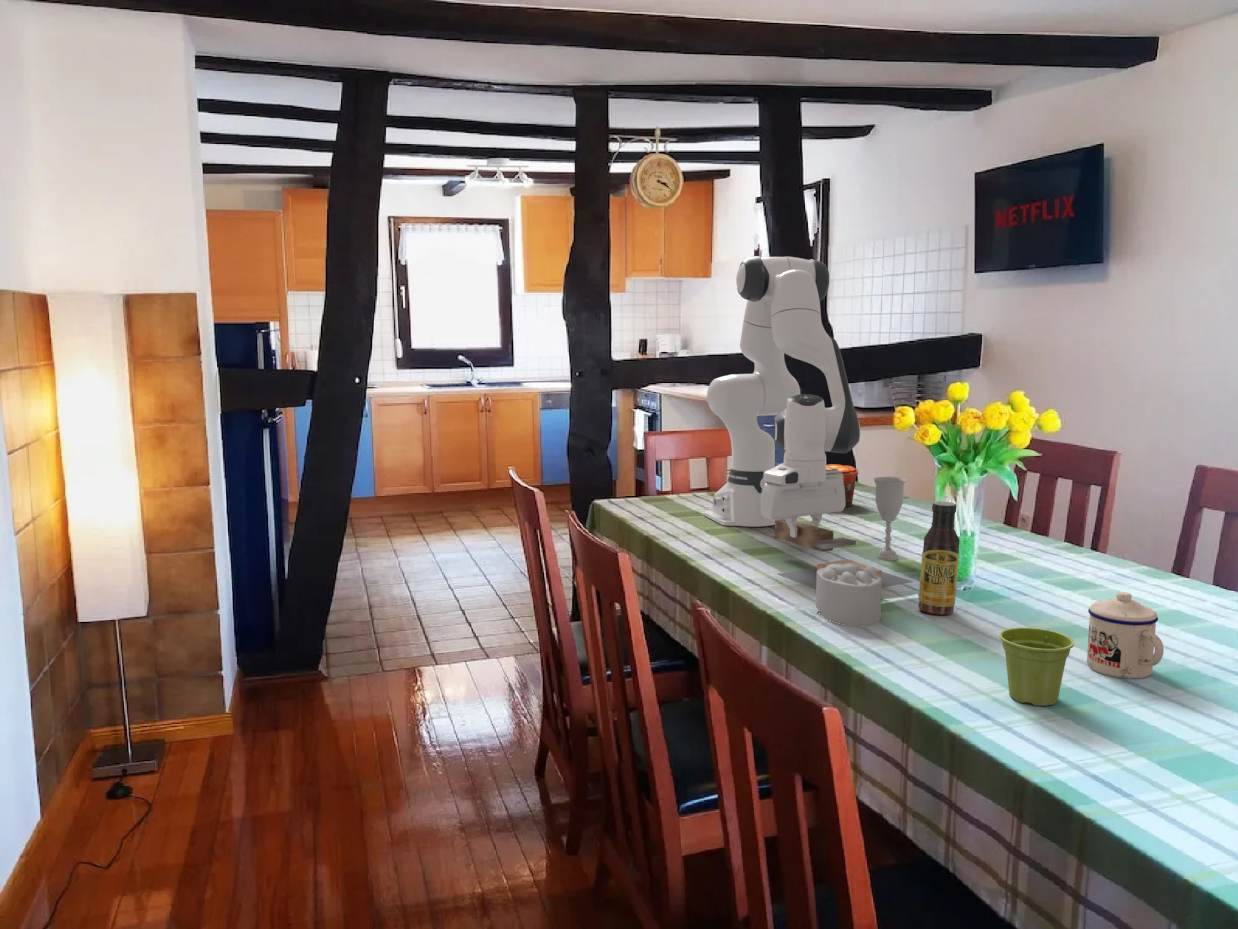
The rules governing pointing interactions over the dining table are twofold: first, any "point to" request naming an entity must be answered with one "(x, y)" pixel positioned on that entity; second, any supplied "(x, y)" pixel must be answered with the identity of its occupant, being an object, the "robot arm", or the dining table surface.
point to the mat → (810, 578)
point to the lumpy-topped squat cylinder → (849, 594)
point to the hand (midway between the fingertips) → (803, 535)
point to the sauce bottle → (939, 562)
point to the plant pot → (1035, 663)
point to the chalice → (888, 508)
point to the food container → (846, 480)
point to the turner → (810, 536)
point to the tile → (824, 565)
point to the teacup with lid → (1123, 638)
